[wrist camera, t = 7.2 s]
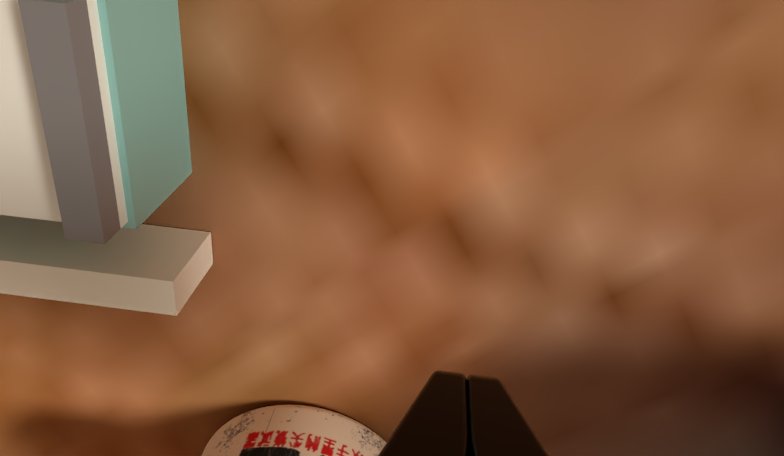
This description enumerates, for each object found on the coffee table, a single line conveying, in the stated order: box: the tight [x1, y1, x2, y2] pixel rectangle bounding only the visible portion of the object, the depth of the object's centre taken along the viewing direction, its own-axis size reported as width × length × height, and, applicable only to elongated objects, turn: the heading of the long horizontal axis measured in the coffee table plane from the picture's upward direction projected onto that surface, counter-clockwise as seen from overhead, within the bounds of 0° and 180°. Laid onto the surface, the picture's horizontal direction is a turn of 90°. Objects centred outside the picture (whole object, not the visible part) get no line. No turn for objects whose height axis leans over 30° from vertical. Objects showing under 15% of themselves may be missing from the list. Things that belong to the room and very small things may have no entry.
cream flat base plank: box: [0, 215, 213, 316], centre depth 18 cm, size 10×11×3 cm
